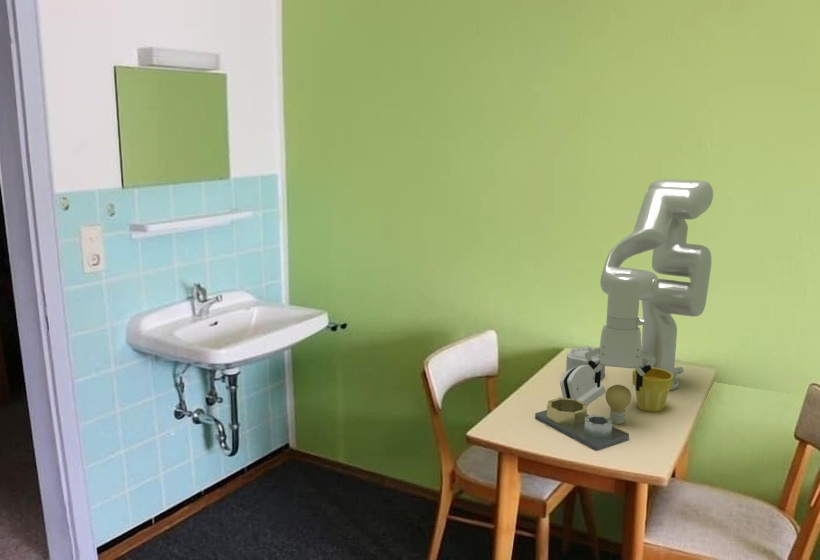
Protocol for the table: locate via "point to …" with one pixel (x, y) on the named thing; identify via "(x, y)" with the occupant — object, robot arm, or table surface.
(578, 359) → the lumpy-topped squat cylinder
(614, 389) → the light bulb
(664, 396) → the plant pot
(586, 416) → the fitting plate
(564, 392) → the white rounded block
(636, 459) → the table surface
